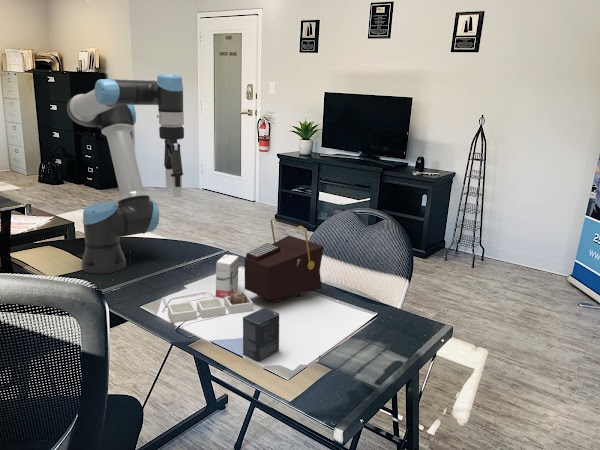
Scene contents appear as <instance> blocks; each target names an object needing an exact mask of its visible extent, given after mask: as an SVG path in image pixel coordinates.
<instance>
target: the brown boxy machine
mask: <svg viewBox="0 0 600 450" xmlns="http://www.w3.org/2000/svg"><path fill="white" fill-rule="evenodd" d="M273 221H276V222H278V223H281V224H284V225H288V226H292V227H295V228H301V229H302V230H303V231H304V235H305V236H304V237H305V239H302V238H299V237H295V236H292V235H287V236H285V237H283V238H281V239H279V240H277V241H276V237H275V236H276V235H275V232H274V231H275V229H274V225H273ZM270 226H271V227H270V228H271V232H272V233H271V234H272V239H273V243H269V242H266V243H264V244H262V245H260V246H258V247H256V248H254V249H252V250H251V251H248V252H246V254H245V258H244V290H247V291H249V292H250V293H253V294H256V295H257V296H259V297H260V298H261V299H265V300H267V301H269V302H271V303H273V304H277V302H278V301H281V300H283V299H286V298H289V297H293V296H295V295H296V297H297V298H300V297H301V296H300V295H301V294H302V293H307V292H312V291H317V290H321V289H322V287H323V286H322V281H321V280H322V279H321V265H322V264H321V263H322V259H323V253H324V247H325V245H322V244H318V243H315V242H312V241H309V240H308V234H307V229H306V228H305V227H304V226H302V225H299V224H296V223H293V222H289V221H286V220H282V219H279V218H277V219H276V218H272V219H271V220H270ZM322 290H323V289H322Z"/></svg>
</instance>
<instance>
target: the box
mask: <svg viewBox="0 0 600 450" xmlns="http://www.w3.org/2000/svg"><path fill="white" fill-rule="evenodd" d="M242 351H243V352H242V354H243V355H244V357H245V356H246V357H248V358H249V359H251V360H253V361H256V362H257V363H258V362H261V361H262V360H264V359H266V358H267V357H270V356H271V355H273V354H275V353H277V352H278V351H280V313H279V312H276V311H275V310H271V309H269V308H266V307H263V308H260V309H258V310H256V311H253V312H252V313H250V314H248V315H245V316H243V317H242Z"/></svg>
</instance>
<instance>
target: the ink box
mask: <svg viewBox="0 0 600 450" xmlns="http://www.w3.org/2000/svg"><path fill="white" fill-rule="evenodd" d="M239 257H240V256H238V255H234V254H224V255H222V257H220V258H219V259H218V260H217V261H216V263H215V265H216V266H215V267H216V269H215V298H223V299H224V297H228V296H230V294H232V293H236V292H237V290H238V289H239V263H240V262H239Z"/></svg>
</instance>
